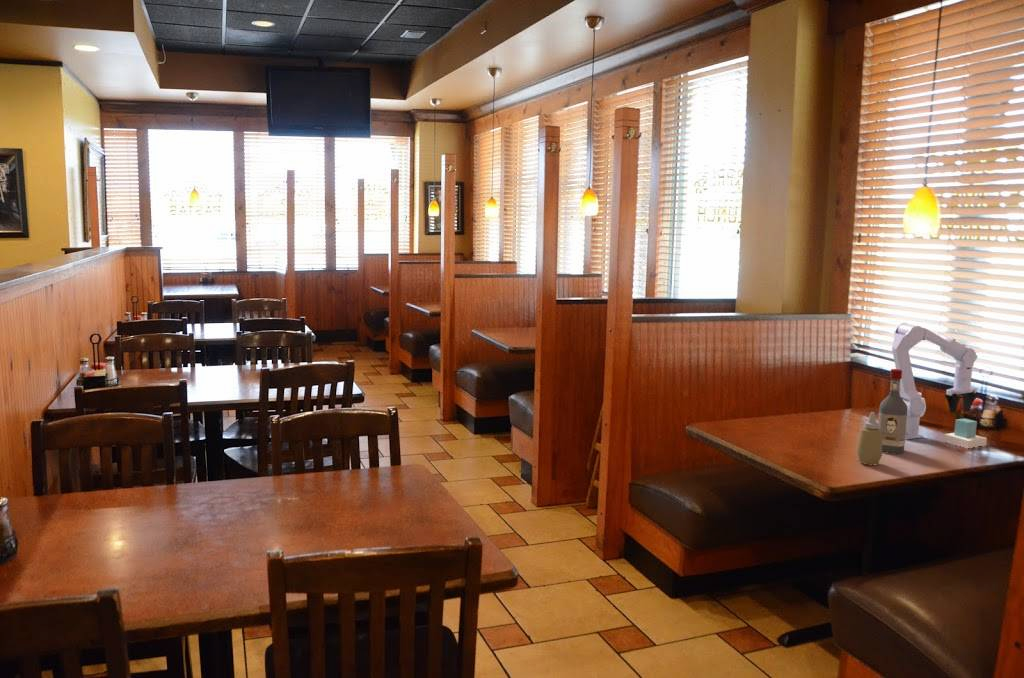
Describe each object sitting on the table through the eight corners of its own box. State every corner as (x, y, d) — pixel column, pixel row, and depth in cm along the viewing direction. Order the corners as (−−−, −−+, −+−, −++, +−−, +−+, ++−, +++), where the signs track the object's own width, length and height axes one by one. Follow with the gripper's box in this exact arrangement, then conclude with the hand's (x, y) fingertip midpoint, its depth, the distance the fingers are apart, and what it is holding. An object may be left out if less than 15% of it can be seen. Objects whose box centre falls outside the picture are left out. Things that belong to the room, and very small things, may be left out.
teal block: (966, 438, 299) (967, 422, 299) (954, 434, 304) (955, 419, 303) (975, 437, 301) (976, 421, 301) (963, 433, 306) (964, 418, 305)
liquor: (877, 445, 299) (883, 366, 295) (904, 449, 295) (910, 369, 291) (875, 451, 291) (881, 370, 287) (903, 455, 287) (910, 373, 283)
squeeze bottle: (884, 463, 278) (889, 412, 275) (877, 468, 272) (881, 416, 269) (860, 458, 283) (864, 408, 280) (852, 463, 277) (856, 412, 274)
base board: (967, 448, 296) (968, 440, 296) (943, 441, 306) (944, 434, 305) (985, 445, 300) (986, 438, 300) (961, 439, 309) (962, 431, 309)
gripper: (959, 380, 306) (955, 415, 308) (985, 378, 311) (981, 412, 313) (942, 377, 312) (939, 411, 314) (968, 375, 318) (965, 408, 320)
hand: (959, 411), depth 314 cm, fingers open, 7 cm apart
